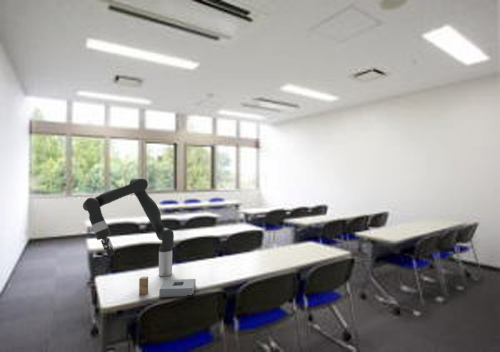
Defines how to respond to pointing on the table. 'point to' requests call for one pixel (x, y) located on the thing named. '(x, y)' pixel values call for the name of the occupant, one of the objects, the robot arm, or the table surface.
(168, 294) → the dock socket
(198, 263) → the table surface
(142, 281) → the walnut peg
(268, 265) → the table surface
